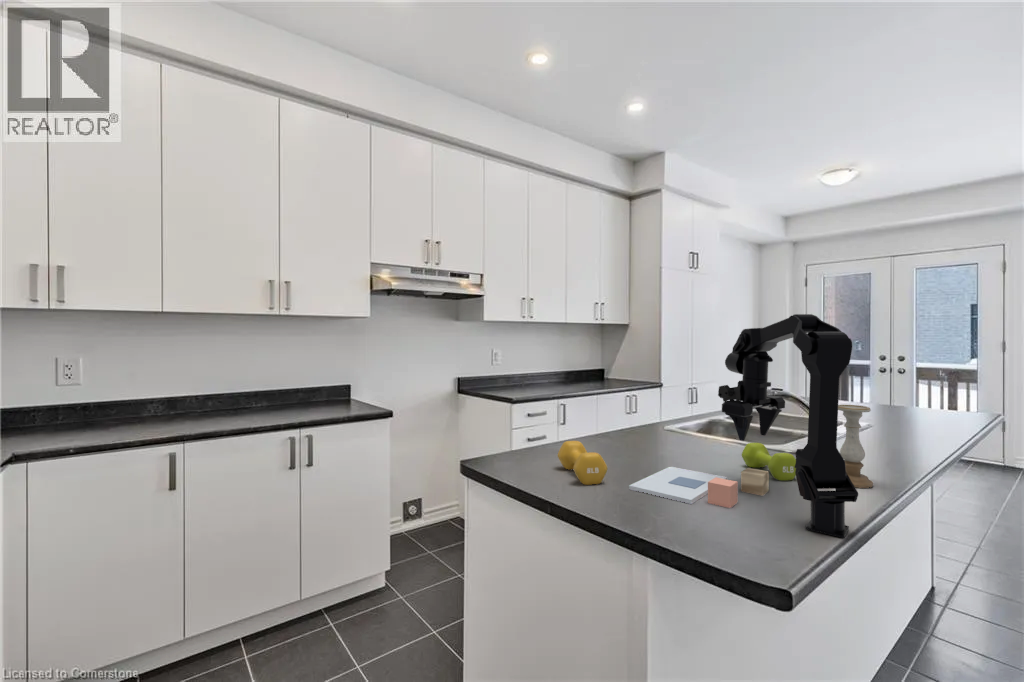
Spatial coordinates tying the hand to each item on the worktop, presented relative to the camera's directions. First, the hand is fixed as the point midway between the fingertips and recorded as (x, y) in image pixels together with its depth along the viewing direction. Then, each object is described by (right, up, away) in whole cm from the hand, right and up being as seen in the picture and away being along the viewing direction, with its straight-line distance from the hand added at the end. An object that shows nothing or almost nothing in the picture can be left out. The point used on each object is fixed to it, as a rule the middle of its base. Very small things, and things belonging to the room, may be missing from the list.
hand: (752, 437), depth 123 cm
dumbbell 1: (-43, -13, +11) cm, 46 cm away
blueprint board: (-18, -13, +2) cm, 22 cm away
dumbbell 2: (+11, -13, +13) cm, 21 cm away
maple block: (-1, -13, -3) cm, 13 cm away
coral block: (-13, -13, -12) cm, 22 cm away
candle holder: (+28, -13, +3) cm, 31 cm away
